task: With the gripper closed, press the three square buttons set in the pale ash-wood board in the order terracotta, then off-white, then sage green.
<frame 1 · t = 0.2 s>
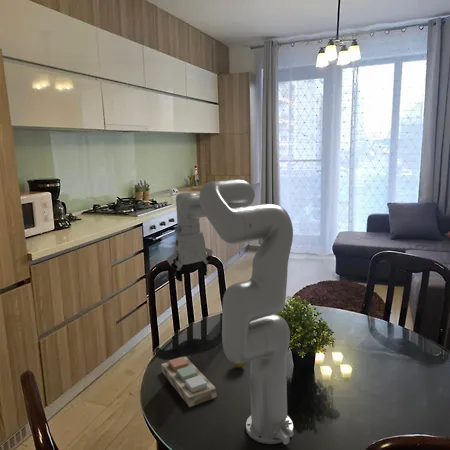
hand: (191, 277, 143), 30 cm above the table, tool pointing down, fingers open, 9 cm apart
lemon: (239, 368, 141), on the table
button board: (187, 383, 133), on the table
sage button: (187, 374, 132), point 3 cm above the table, slide at 0.0 cm
offwhite button: (196, 385, 126), point 3 cm above the table, slide at 0.0 cm
terracotta button: (178, 365, 138), point 3 cm above the table, slide at 0.0 cm
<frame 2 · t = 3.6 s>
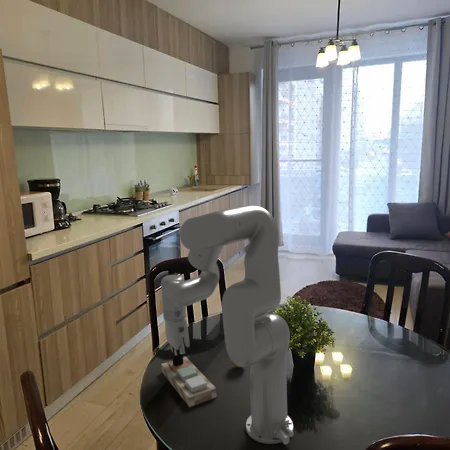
hand: (178, 364, 138), 4 cm above the table, tool pointing down, fingers closed
terracotta button: (178, 368, 138), point 2 cm above the table, slide at 1.0 cm, touching gripper
everything else where it was.
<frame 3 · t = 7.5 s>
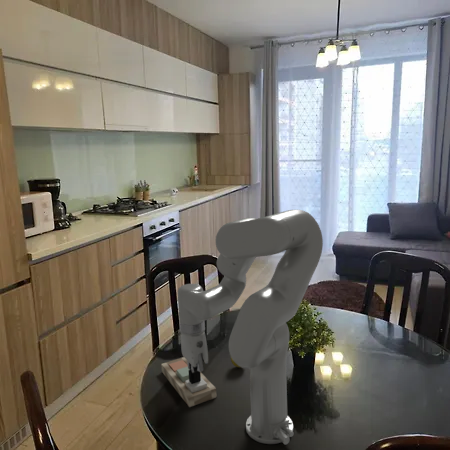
hand: (194, 381, 126), 4 cm above the table, tool pointing down, fingers closed
offwhite button: (196, 386, 126), point 3 cm above the table, slide at 0.3 cm, touching gripper
terracotta button: (178, 368, 138), point 2 cm above the table, slide at 1.3 cm
everything else where it was.
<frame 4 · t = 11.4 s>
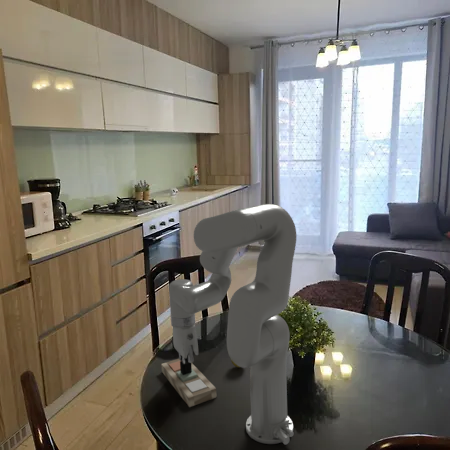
hand: (186, 372, 132), 4 cm above the table, tool pointing down, fingers closed
sage button: (187, 376, 132), point 2 cm above the table, slide at 0.7 cm, touching gripper
offwhite button: (196, 389, 126), point 2 cm above the table, slide at 1.3 cm
everything else where it was.
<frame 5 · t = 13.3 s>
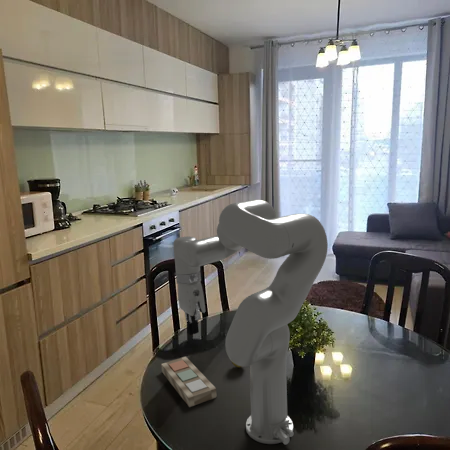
hand: (193, 332, 130), 17 cm above the table, tool pointing down, fingers closed
sage button: (187, 378, 132), point 2 cm above the table, slide at 1.3 cm
everything else where it was.
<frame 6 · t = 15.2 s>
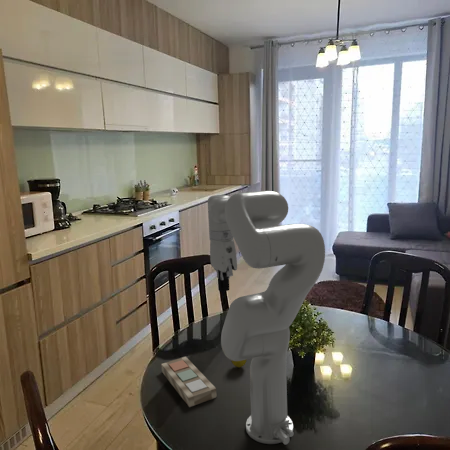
hand: (223, 290, 133), 29 cm above the table, tool pointing down, fingers closed
nothing on the table moved.
at the end: terracotta button slide at 1.3 cm; offwhite button slide at 1.3 cm; sage button slide at 1.3 cm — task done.
